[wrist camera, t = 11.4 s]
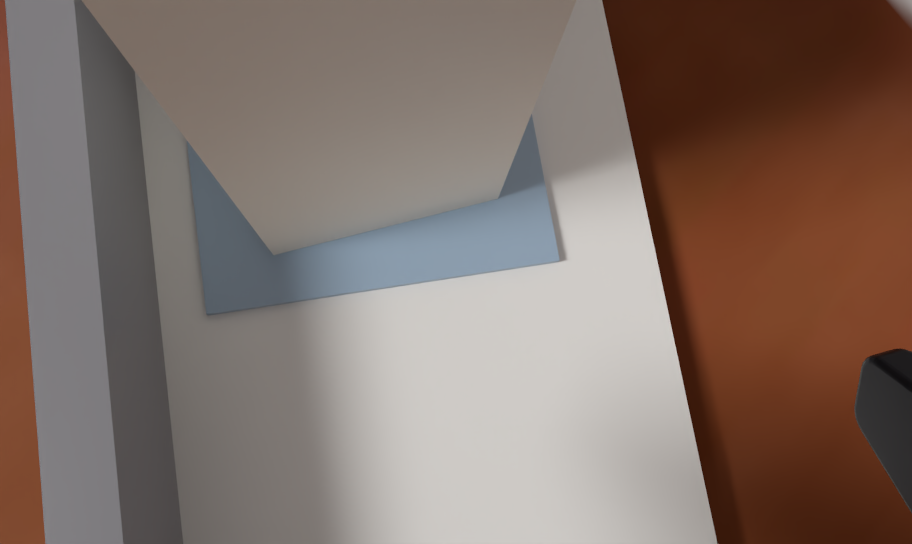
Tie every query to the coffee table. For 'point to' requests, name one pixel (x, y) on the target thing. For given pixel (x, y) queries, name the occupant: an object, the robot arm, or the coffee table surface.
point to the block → (343, 101)
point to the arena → (343, 333)
